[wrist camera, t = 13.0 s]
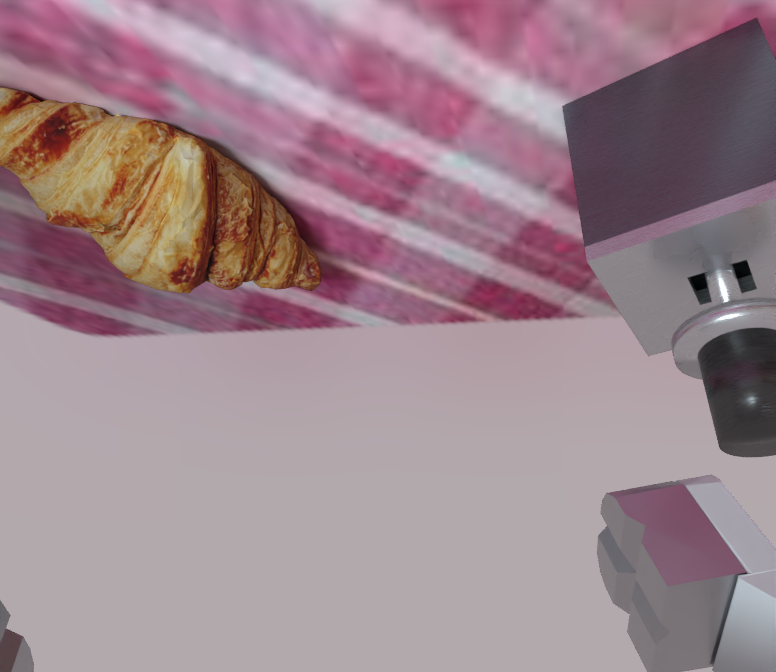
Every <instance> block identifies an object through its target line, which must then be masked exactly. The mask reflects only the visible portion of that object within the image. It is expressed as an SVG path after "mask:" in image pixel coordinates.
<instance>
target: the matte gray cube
mask: <svg viewBox="0 0 776 672" xmlns="http://www.w3.org/2000/svg"><path fill="white" fill-rule="evenodd" d="M562 107H563V113H564V120H565V126H566V132H567V139H568V145H569V151H570V157H571V164H572V170H573V176H574V183H575V189H576V195H577V202H578V208H579V214H580V220H581V227H582V233H583V239H584V246H585V252H586V258H587V262H588V264H589V265H590V267H591V268H592V270H593V271H594V273H595V275H596V276H597V278H598V279H599V281H600V282H601V284H602V285H603V287H604V288H605V290H606V292H607V293H608V295H609V296H610V298H611V299H612V301H613V302H614V304H615V305H616V307H617V308H618V310H619V312H620V313H621V315H622V316H623V318H624V319H625V321H626V322H627V324H628V325H629V327H630V328H631V330H632V332H633V333H634V335H635V336H636V338H637V339H638V341H639V342H640V343H641V345H642V347H643V349H644V350H645V352H646V353H647V355H648V356H650V355H653V354H658V353H661V352H665V351H669V350H672V347H671V339H672V337H673V334H674V333H675V331H676V330H677V329H678V327H679V326H680V325H681V324H683V323H684V322H685V321H686V320H688V319H689V318H690V317H692V316H694V315H696V314H697V313H699V312H701V311H703V310H705V309H708V308H710V307H713V304H712V300H711V297H710V293H709V289H708V286H707V282H706V278H705V275H704V272H707V271H711V270H714V269H717V268H721V267H724V266H727V265H731V264H733V267H734V271H735V274H736V277H737V280H738V284H739V287H740V290H741V294H742V297H743V299H747V298H761V297H762V298H776V61H775V58H774V56H773V54H772V51H771V49H770V47H769V45H768V42H767V40H766V38H765V35H764V33H763V31H762V28H761V26H760V24H759V22H758V19H757V18H755V19H753V20H751V21H749V22H747V23H744V24H742V25H740V26H738V27H736V28H733V29H731V30H729V31H727V32H725V33H722V34H720V35H718V36H716V37H714V38H711V39H709V40H707V41H705V42H703V43H700V44H698V45H696V46H694V47H692V48H689V49H687V50H685V51H683V52H681V53H678V54H676V55H674V56H672V57H670V58H667V59H665V60H663V61H661V62H659V63H656V64H654V65H652V66H650V67H648V68H645V69H643V70H641V71H639V72H637V73H635V74H632V75H630V76H628V77H626V78H624V79H621V80H619V81H617V82H615V83H613V84H610V85H608V86H606V87H604V88H602V89H599V90H597V91H595V92H593V93H591V94H588V95H586V96H584V97H582V98H580V99H577V100H575V101H573V102H571V103H569V104H566V105H564V106H562Z"/></svg>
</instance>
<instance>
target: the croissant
mask: <svg viewBox="0 0 776 672" xmlns="http://www.w3.org/2000/svg"><path fill="white" fill-rule="evenodd" d="M0 166H2V167H5V168H6V169H8V170H10V171H12V172H13V173H14V174H16V175H17V176H18V177H19V178H20V182H21V184H22V185H23V186H24V187H25V188H26V189H27V190H28V191H29V192H30V195H31V196H32V197H33V199H34V200H35V203H36V205H37V207H38V208H39V209H41V210H42V211H44V212H46V216H47V220H46V221H47V222H49V223H51V224H54V225H60V226H65V227H75V228H82V230H84V231H85V232H89V233H90V234H91V235H92V237H93V238H94V239H95V240H96V242H97V243H98V244H99V245H100V246H101V247H102V248H104V252H105V255H106V257H107V259H108V261H110V262H111V263H112V264H113V265H114V266H115V267H116V268H117V269H119V270H120V271H122V272H123V274H124V276H125V277H127V278H129V279H131V280H133V281H136V282H138V283H141V284H144V285H148V286H150V287H152V288H155V289H158V290H164V291H171V292H177V293H181V294H182V293H183V292H184V293H190V292H191V291H192V290H193V289H194V288H195V287H197V286H199V285H200V284H202V283H204V282H205V281H208V282H210V283H212V284H214V285H216V286H217V287H220V288H222V289H225V290H232V289H235V288H236V287H238V286H240V285H242V283H243V282H248V281H251V280H254V282H255V283H256V284H257V285H258V286H260V287H261V288H271V289H285V288H289V287H293V286H297V287H299V288H302V289H305V290H310V291H312V290H315V289H316V287H317V286H318V285H319V283H320V282H321V275H322V273H321V266H320V263H319V261H318V257H317V255H316V254H315V253H314V252H313V251H312V250H311V249H310V248H309V247H308V246H307V245H306V244H305V242H304V241H303V240H302V239H301V238H300V237H299V232H298V230H297V228H296V225H295V222H294V220H293V218H292V217H291V215H290V214H289V213H287V211H286V209H285V208H284V207H283V206H282V205H281V204H280V203H279V202H278V201H277V200H276V199H275V198H274V197H272V196H270V195H269V194H268V193H267V192H266V191H265V190H264V189H263V188H262V186H261V185H260V184H259V182H258V181H257V180H256V178H255V177H254V176H253V175H252V174H250V173H249V172H248V171H246V170H245V169H244V168H242V167H241V166H239V165H238V164H237V163H235V162H233V161H232V160H230V159H228V158H226V157H224V156H223V155H222V154H220V153H219V152H218V151H216V150H215V149H213V148H212V147H208V145H207V144H206V143H205V142H204V141H203V140H201V139H199V138H197V137H195V136H192V135H189V134H187V133H184V132H182V131H180V130H177V129H175V128H174V127H173V126H170V125H167V124H164V123H161V122H159V121H155V120H151V119H146V118H137V117H130V116H120V115H118V114H116V115H115V116H110V115H108V114H105V113H104V110H102V109H100V108H98V107H93V106H89V105H84V104H80V103H76V102H74V103H58V102H56V101H51V100H46V101H43V102H40V101H39V100H37V99H35V98H33V97H32V96H30V95H29V94H27V93H26V92H24V91H17V90H12V89H8V88H2V87H0Z"/></svg>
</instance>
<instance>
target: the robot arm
mask: <svg viewBox="0 0 776 672" xmlns="http://www.w3.org/2000/svg"><path fill="white" fill-rule="evenodd" d="M601 515H602V517H603V519H604V521H605V522H606V524H607V527H606V528H605V529H604V530H603V531H602V532H601V533H600V534H599V536H598V547H597V555H598V561H599V567H600V572H601V575H602V578H603V581H604V584H605V587H606V589H607V591H608V593H609V595H610V597H611V600H612V602H613V603H614V604H615V605H617V606H618V607H620V608H622V609H623V610H624V611H626V612H627V613H629V614H630V616H629V623H628V630H627V632H628V634H629V636H630V638H631V640H632V642H633V644H634V646H635V648H636V650H637V652H638V654H639V656H640V658H641V660H642V662H643V664H644V666H645V668H646V670H647V672H682V671H688V670H694V669H701V668H707V667H713V669H712V670H713V671H714V672H776V549H775V548H774V546H773V545H772V544H771V543H770V541H769V540H768V539H767V538H766V536H765V535H764V534H763V533H762V531H761V530H760V529H759V528H758V526H757V525H756V524H755V523H754V521H753V520H752V519H751V518H750V516H749V515H748V514H747V513H746V512H745V510H744V509H743V508H742V507H741V505H740V504H739V503H738V502H737V500H736V499H735V498H734V497H733V496H732V494H731V493H730V492H729V490H728V489H727V488H726V487H725V485H724V484H723V483H722V482H721V480H720V479H718V478H717V477H715V476H713V475H707V476H701V477H696V478H690V479H684V480H678V481H676V482H672V481H670V482H665V483H660V484H654V485H649V486H644V487H638V488H632V489H627V490H621V491H616V492H611V493H606V495H605V497H604V498H603V500H602V506H601ZM9 618H10V614H9V612H8V611H7V610H6V608H5V607H4V605H3V604H2V602H1V601H0V672H33V670H34V663H33V659H32V655H31V651H30V648H29V646H28V644H27V642H26V641H25V639H24V637H23V636H21V635H19V634H17V633H15V632H12V631H10V630H8V629H6V626H7V623H8V621H9Z"/></svg>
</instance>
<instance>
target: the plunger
mask: <svg viewBox="0 0 776 672" xmlns="http://www.w3.org/2000/svg"><path fill="white" fill-rule="evenodd" d="M704 275H705V278H706V282H707V286H708V289H709V293H710V297H711V300H712V304H713V307H710V308H708V309H705V310H703V311H701V312H699V313H697V314H696V315H694V316H692V317H690V318H689V319H688V320H686V321H685V322H684V323H683V324H681V325H680V326H679V327H678V329H677V330H676V331H675V333H674V334H673V337H672V339H671V347H672V351H673V356H674V360H675V364H676V366H677V367H678V369H679V370H680V371H681V372H683V373H685V374H686V375H688V376H691V377H694V378H697V379H702V380H703V382H704V387H705V390H706V395H707V399H708V403H709V407H710V411H711V415H712V419H713V423H714V427H715V431H716V435H717V440H718V444H719V447H720V449H721V450H722V451H723V452H725V453H727V454H730V455H733V456H740V457H764V456H772V455H776V298H762V297H761V298H747V299H743V297H742V294H741V290H740V287H739V284H738V280H737V277H736V274H735V271H734V267H733V264H731V265H727V266H724V267H721V268H717V269H714V270H711V271H707V272H704Z"/></svg>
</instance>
